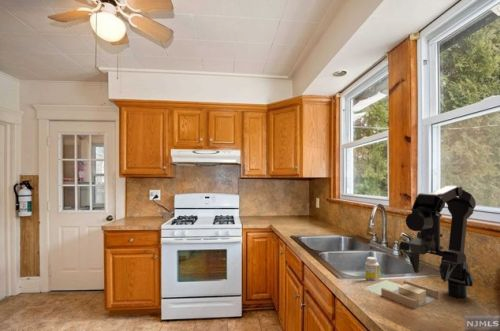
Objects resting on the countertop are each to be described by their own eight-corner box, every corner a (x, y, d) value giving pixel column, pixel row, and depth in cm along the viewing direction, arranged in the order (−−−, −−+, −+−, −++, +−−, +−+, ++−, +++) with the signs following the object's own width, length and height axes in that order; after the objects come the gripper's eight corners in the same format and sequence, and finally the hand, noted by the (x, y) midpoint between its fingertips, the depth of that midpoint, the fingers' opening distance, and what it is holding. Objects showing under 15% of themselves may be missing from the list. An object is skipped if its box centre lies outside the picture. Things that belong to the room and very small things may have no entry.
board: (438, 301, 98) (438, 290, 98) (415, 313, 90) (414, 301, 90) (386, 283, 115) (386, 274, 115) (362, 291, 107) (362, 281, 107)
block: (398, 297, 98) (398, 286, 98) (406, 294, 101) (405, 283, 101) (418, 305, 92) (418, 293, 92) (426, 302, 95) (426, 290, 95)
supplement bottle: (374, 279, 120) (374, 255, 121) (382, 283, 115) (381, 259, 115) (363, 279, 120) (362, 256, 120) (369, 284, 114) (369, 260, 115)
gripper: (389, 226, 96) (388, 270, 95) (446, 235, 80) (447, 290, 78) (408, 225, 101) (408, 268, 100) (466, 234, 85) (467, 285, 83)
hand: (429, 277), depth 90 cm, fingers open, 9 cm apart
